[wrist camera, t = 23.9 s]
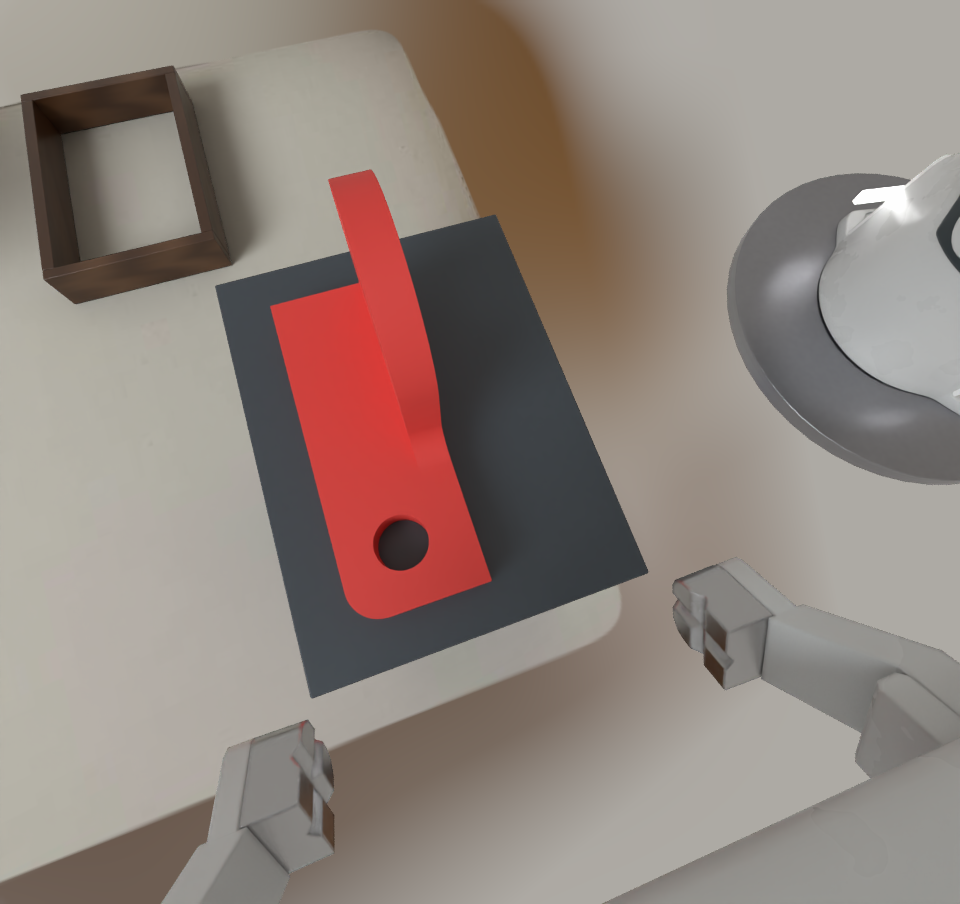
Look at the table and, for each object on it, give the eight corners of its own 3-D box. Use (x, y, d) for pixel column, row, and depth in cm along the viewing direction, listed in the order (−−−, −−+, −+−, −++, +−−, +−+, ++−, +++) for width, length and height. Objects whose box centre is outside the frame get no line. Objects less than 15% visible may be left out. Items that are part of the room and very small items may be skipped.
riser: (479, 374, 37) (495, 213, 22) (559, 586, 33) (649, 572, 17) (319, 422, 35) (214, 285, 20) (382, 651, 31) (310, 699, 16)
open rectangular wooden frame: (192, 100, 43) (172, 64, 40) (232, 265, 39) (214, 238, 36) (50, 129, 42) (19, 94, 39) (75, 304, 37) (42, 279, 34)
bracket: (280, 322, 20) (169, 146, 12) (391, 292, 20) (352, 107, 13) (360, 627, 16) (278, 648, 9) (489, 582, 17) (515, 565, 10)
